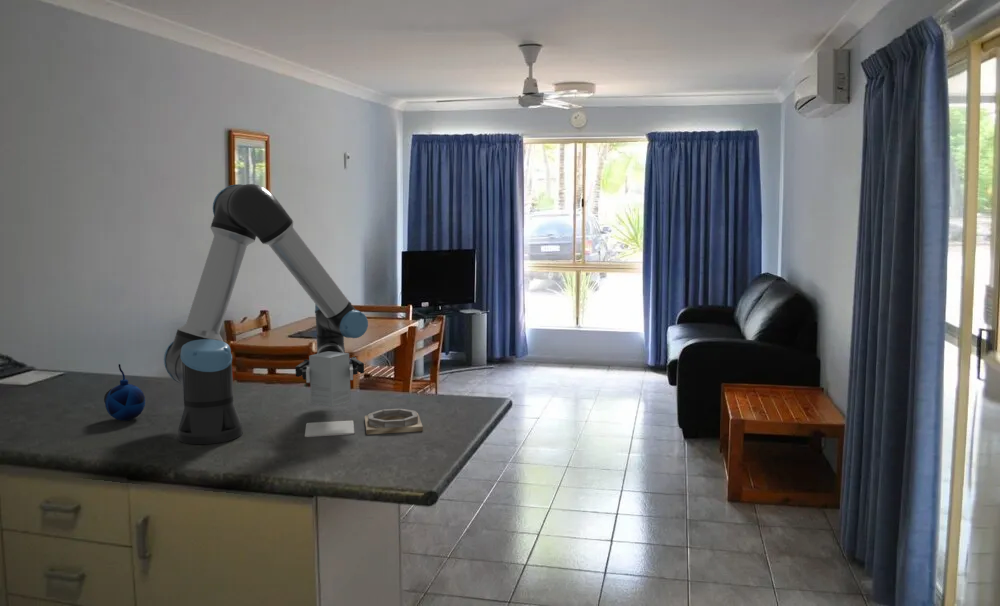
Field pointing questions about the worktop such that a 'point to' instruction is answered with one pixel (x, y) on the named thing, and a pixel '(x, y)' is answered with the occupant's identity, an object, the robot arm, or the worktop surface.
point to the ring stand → (393, 421)
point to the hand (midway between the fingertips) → (329, 376)
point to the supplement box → (330, 378)
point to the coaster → (329, 428)
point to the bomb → (124, 400)
